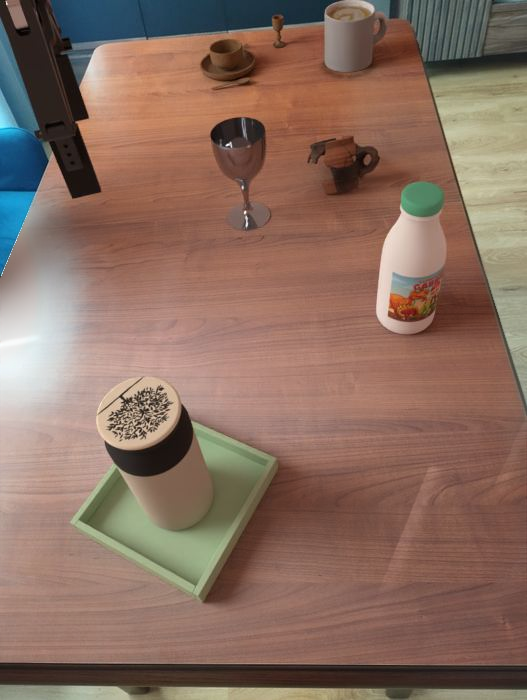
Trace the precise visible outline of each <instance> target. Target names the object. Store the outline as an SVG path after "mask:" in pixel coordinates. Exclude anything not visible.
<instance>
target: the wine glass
mask: <svg viewBox="0 0 527 700" xmlns="http://www.w3.org/2000/svg"><path fill="white" fill-rule="evenodd" d="M209 137H210V144H211V149H212V153H213V155H214V156H213V157H214V159H215V161H216V162H215V163H216V164H217V166H218V169H219V170H220V172H221V173H222V174H223V175H224V176H225V177H226V178H228V179H230V180H231V181H232V182H234V183H236V184H237V185H238V187H239V189H240V191H241V193H242V198H243V202H241V203H239V204H236V205H234V206H233V207H232V208H230V210H229V211H228V212H227V215H226V221H227V223H228V225H230V226H231V227H232V228H233V229H236V230H239V231H253V230H258V229H261V227H263V226H264V225H267V223H268V222H269V221H270V220H271V219H270V218H271V211H270V209H269V207H267V206H266V205H265V204H263V203H260V202H257V201H250V186H251V184H252V182H253V181H254V179H255V178H257V176H259V174H260V173H261V172H262V170H263V169H264V166H265V162H266V156H267V132H266V127H265V125H264V123H262V122H261V121H260V120H258V119H256V118H254V117H248V116H236V117H231V118H226V119H224V120H222V121H220V122H218V123H216V125H215V126H214V127H212V129H211V131H210V134H209Z"/></svg>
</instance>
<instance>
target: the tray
mask: <svg viewBox="0 0 527 700" xmlns="http://www.w3.org/2000/svg"><path fill="white" fill-rule="evenodd" d="M190 420H191V423H192V425H193V428H194V431H195V434H196V437H197V440H198V443H199V445H200V448H201V451H202V454H203V457H204V460H205V463H206V465H207V468H208V471H209V474H210V477H211V480H212V483H213V487H214V498H213V502H212V505H211V508H210V509H209V511H208V513H207V514H206V515H205V516H204V518H203V519H202V520H200V521H199V522H198V523H196V524H195V525H193V526H191V527H189V528H186V529H183V530H176V531H171V530H165V529H162V528H160V527H158V526H156V525H154V524H153V523H152V522H151V521H150V520H149V519H148V517H147V516H146V514H145V512H144V511H143V509H142V507H141V506H140V504H139V502H138V501H137V499H136V498H135V496H134V494H133V493H132V491H131V489H130V488H129V486H128V485H127V483H126V481H125V480H124V478H123V476H122V475H121V473H120V471H119V470H118V468H117V467H116V465H115V463H114V462H113V463H112V465H111V466H110V468H109V469H108V470H107V472H106V473H105V475H104V476H103V477H102V479H101V480H100V481H99V482H98V484H97V485H96V487H94V489H93V491H92V492H91V493H90V494H89V496H88V497H87V498H86V500H85V501H84V503H83V504H82V505H81V506H80V508H79V510H78V511H77V512H76V514H75V515H73V517H72V519H71V520H70V522H69V524H71V526H72V527H73V528H74V530H76V531H77V532H78V533H79V534H82V535H83V536H85V537H86V538H88V539H90V540H92V541H93V542H95V543H97V544H98V545H101V546H102V547H104V548H106V549H107V550H109V551H111V552H113V553H114V554H116V555H118V556H120V557H121V558H123V559H125V560H127V561H129V562H130V563H132V564H133V565H136V566H137V567H139V568H141V569H142V570H144V571H145V572H148V573H149V574H151V575H153V576H155V577H157V578H158V579H160V580H162V581H163V582H165V583H167V584H169V585H171V586H172V587H174V588H175V589H177V590H179V591H181V592H183V593H184V594H185V595H188V596H190V597H191V598H193V599H195V600H197V601H198V602H200V603H202V604H203V603H204V602H205V600H206V598H207V596H208V594H209V593H210V591H211V589H212V587H213V585H214V584H215V582H216V580H217V578H218V577H219V575H220V573H221V572H222V570H223V568H224V566H225V564H226V563H227V561H228V559H229V557H230V556H231V553H232V552H233V550H234V548H235V547H236V545H237V543H238V541H239V539H240V538H241V536H242V534H243V533H244V531H245V528H246V527H247V526H248V523H249V522H250V520H251V519H252V517H253V515H254V513H255V511H256V509H257V508H258V505H259V504H260V502H261V501H262V499H263V497H264V495H265V493H266V491H267V489H268V488H269V487H270V484H271V483H272V481H273V479H274V477H275V475H276V474H277V472H278V470H279V462H278V458H277V457H275V456H272V455H271V454H268V453H266V452H264V451H261V450H259V449H258V448H255V447H252V446H250V445H248V444H246V443H244V442H241V441H240V440H237V439H234V438H232V437H230V436H228V435H225V434H223V433H222V432H218V431H216V430H215V429H212V428H210V427H207V426H206V425H203V424H201V423H198V422H196V421H194V420H192V419H190Z"/></svg>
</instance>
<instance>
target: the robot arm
mask: <svg viewBox="0 0 527 700" xmlns="http://www.w3.org/2000/svg"><path fill="white" fill-rule="evenodd" d="M0 21H1V23H2V26H3V28H4V31H5V33H6V36H7V37H8V42H9V45H10V47H11V49H12V54H13V56H14V59H15V63H16V65H17V68H18V71H19V74H20V76H21V79H22V82H23V85H24V88H25V90H26V94H27V97H28V100H29V103H30V106H31V109H32V112H33V115H34V117H35V120H36V123H37V126H38V129H37V130H34V131H33V133H34V136H35V138H36V140H37V141H40V140H42V141H43V142H44V143H48V144H49V146H50V147H49V148H50V149H51V152H52V154H53V156H54V158H55V162H56V163H57V166H58V168H59V170H60V173H61V176H62V178H63V181H64V182H65V185H66V187H67V189H68V192H69V195H70V197H71V199H72V200H74V199H79V198H83V197H87V196H92V195H95V194H100V193H102V187H101V185H100V182H99V179H98V176H97V173H96V170H95V167H94V165H93V162H92V160H91V157H90V154H89V151H88V148H87V146H86V144H85V140H84V138H83V137H84V136H83V135H82V132H81V129H80V127H79V124H78V122H80V121H84V120H90V117H89V112H88V110H87V109H88V108H87V107H86V103H85V100H84V97H83V95H82V92H81V89H80V86H79V84H78V83H79V82H78V80H77V77H76V74H75V72H74V69H73V66H72V63H71V60H70V57H69V54H68V53H64V52H69V51H73V50H74V48H73V45H72V42H71V38H70V36H67V37H62V36H63V35H62V33H63V30H62V28H61V26H59V22H58V21H57V18H56V15H55V13H54V10H53V6H52V3H51V0H0ZM62 53H64V54H62Z"/></svg>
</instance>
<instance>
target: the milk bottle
mask: <svg viewBox="0 0 527 700" xmlns="http://www.w3.org/2000/svg"><path fill="white" fill-rule="evenodd" d="M444 202H445V191H444V189H442V187H440V185H438V184H436V183H434V182H430V181H426V180H425V181H421V180H420V181H415V182H411V183H409V184H407V185H406V186H404V188H403V189H402V192H401V196H400V205H399V211H400V214H399V217H398V219H397V220H396V222H395V223H394V224H393V226H392V227H391V229H390V230H389V231H388V233H387V235H386V237H385V239H384V242H383V245H382V250H381V258H380V263H379V264H380V265H379V273H378V274H379V275H378V284H377V291H376V293H377V294H376V305H375V307H376V308H375V314H376V317H377V319H378V322H379V323H380V324H381V325H382V326H383V327H384V328H385V329H386V330H388V331H390V332H392V333H395V334H398V335H399V334H400V335H415V334H418V333H420V332H422V331H424V330H426V329H427V328H428V327H429V326H430V325H431V324H432V322H433V321H434V317H435V315H436V311H437V310H436V309H437V305H438V302H439V301H438V300H439V296H440V291H441V286H442V281H443V277H444V271H445V267H446V261H447V252H448V251H447V247H448V246H447V240H446V236H445V234H444V233H445V232H444V231H443V228H442V225H441V221H440V215H441V214H442V213H443V207H444Z"/></svg>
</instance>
